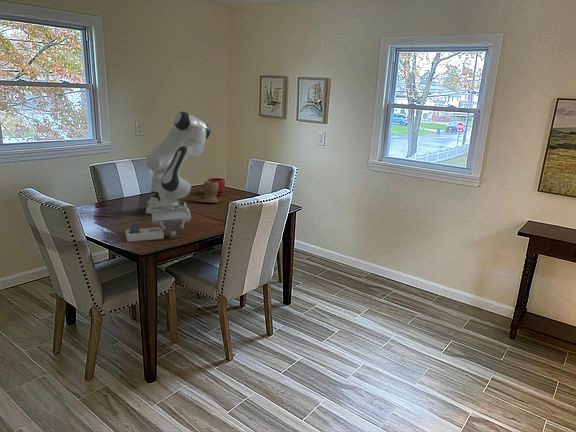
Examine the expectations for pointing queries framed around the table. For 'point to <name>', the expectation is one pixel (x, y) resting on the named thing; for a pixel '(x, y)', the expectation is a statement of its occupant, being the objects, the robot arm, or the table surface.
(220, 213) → the table surface
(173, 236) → the plug
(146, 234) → the power strip
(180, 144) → the robot arm
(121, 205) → the table surface
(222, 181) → the plant pot
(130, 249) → the table surface
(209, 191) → the tan boot
